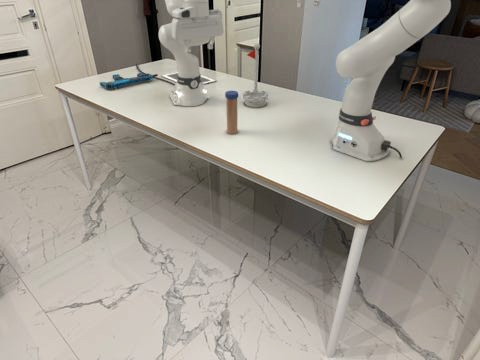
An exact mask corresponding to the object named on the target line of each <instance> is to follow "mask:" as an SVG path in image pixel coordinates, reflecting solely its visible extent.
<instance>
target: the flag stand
mask: <svg viewBox="0 0 480 360" xmlns="http://www.w3.org/2000/svg"><path fill="white" fill-rule="evenodd" d="M260 48H261V45H260V43H258V42H256V43H253V49H254V50H252V51H250V52H249V53H248V54H246V56H248V57H249V58H252V59H254V82H253V85H254V86H253V89H252V91H250V90H249V89H247V90H245V91H244V92H243V93H242V99H243V100H244V105H245V106H247V107H249V108H261V107H265V106H266V105H267V101H268V99H269V92H266V90H265V89H264V90H263V89H262V90H261V91H259V89H258V79H259V78H258V76H259V73H258V72H259V69H258V68H259V49H260Z"/></svg>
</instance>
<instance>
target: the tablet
mask: <svg viewBox="0 0 480 360" xmlns="http://www.w3.org/2000/svg"><path fill="white" fill-rule="evenodd" d="M200 75H201V83H202V84H203V85H207V84H211V83H214V82H217V80H216V79H214V78H210V77H207V76H206V75H202V74H200ZM177 76H178V71H175V72H171V73H167V74H163V75H161V77H163V78H165V79H167V80H169V81H171V82H174V83H177Z"/></svg>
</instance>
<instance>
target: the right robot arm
mask: <svg viewBox="0 0 480 360" xmlns="http://www.w3.org/2000/svg"><path fill="white" fill-rule="evenodd" d="M295 1H296V8H303V6H304V2H303V1H302V0H295ZM320 3H321V0H314V1H313V6H315V7H319V6H320ZM451 8H452V2H451V0H409V1H408V2H407V3H406V4H405V5H403V6H402V7H401V8H400V9H399V10H398V11H396V12H395V13H394V14H393V15H391V16H390V17H389V18H388V20H386V21H385V22H383V24H381V25H380V26H378V27H377V28H375V29H374V30H373V31H371V32H370V33H368V34H366V35H364V36H363V37H361V38H360V39H359V40H358V41H356V42H355V43H353V44H352V45H350V46H348V47H347V48H345V49H343V50H342V51H340V52H339V53H338V54H337V56H336V59H335V69H336V73H337V74H338V75H339V77H341V78H344V79H351V81H350V83H348V85H347V86H346V87H345V89H344V91H343V98H342V103H341V108H340V109H339V113H338V122H337V123H338V124H337V127H336V130H335V132H334V135H333V137H332V139H331V144H332V149H333V150H334V151H336V152H340V153H343V154H344V155H345V154H346V155H348V156H351V157H354V158H356V159H359V160H361V161H365V162H374V161H379V160H381V159H383V158H385V157H387V155H388V154H389V152H390V150H389V148H390V149H392V150H393V151H395V152H396V153H397V154H398V155H399V158H400V159H402V158H403V155H402V154H401V151H400V150H398V149H397V148H396V147H394V146H392V145H391V144H392V142H391V141H390V140H386V139H385V138H384V135H383V134H382V133H381V131H379V128H377V126H376V125H375V124H374V121H375V120H376V119H377V116H373V113H372V109H373V104H374V101H375V96H376V93H377V91H378V88H379V86H380V84H381V81H382V80H383V78H384V76H385V75H386V72H387V71H388V69H389V68H390V67H391V66H392V65H393V64H394V62H395V60H396V56H398V55H400V54H402V53H403V52H404V51H406V50H407V49H408V48H410V47H411V46H413V45H414V44H416V42H418V41H420V40H421V39H422V38H424V37H425V36H426V35H428V34H429V33H430V32H431V31H432V30H434V29H435V28H436V27H437V26H438V25H439V24H440V23H441V22H442V21H444V19H445V18H446V17H447V16H448V15H449V13H450V11H451Z"/></svg>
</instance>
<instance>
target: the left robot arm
mask: <svg viewBox="0 0 480 360" xmlns="http://www.w3.org/2000/svg"><path fill="white" fill-rule="evenodd" d="M164 3H165V6H166V10H167V12H168V14H169V15H170V16H171V17H173V18H172V20H171V22H170V23H166V24H162V25H161V26H160V28H159V30H158V40H159V42H160V44H161V45H162V46H163V47H164V48H166V49H167V50H168V51H169V52H170V53H171V54H172V55H173V58H174V59H175V63H176V64H175V65H176V69H177V72H178V76H177V82H174V83H173V82H172V81H170V80H168V79H167V80H166V79H163V78H160V77H158V76H156V77H153V79H156V80H160V81H162V82H166V83H168V84H171V85H172V87H173V88H172V89H171V94H169V98H170V99H171V101H172V103H173V105H174V106H182V107H196V106H201V105H203V104H204V103H205V102H206V100H208V96H206V93H207V90H205V84H202V83H201V75H202V74H201V72H200V60H199V58H198V57H197V56H196V55H194V54H193V53H191V52H192V50H191V49H192V47H196V46H202V45H205V44H207V49H208V50H213V49H214V43H215V42H216V37H221V36H223V35H224V23H223V13H222V11H221V10H219V9H210V6H209V0H164ZM135 67H136V69H137V71H138V72H139V73H142V74H147V73H146V72H143V71H142V70H141V69H140V68H139V67H138V63H136V62H135Z"/></svg>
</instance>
